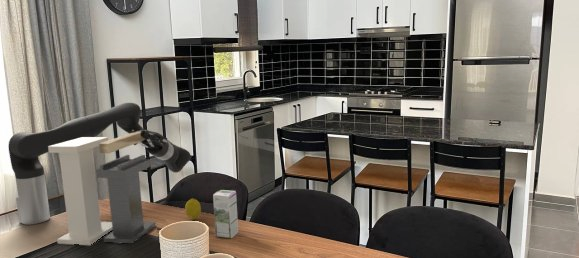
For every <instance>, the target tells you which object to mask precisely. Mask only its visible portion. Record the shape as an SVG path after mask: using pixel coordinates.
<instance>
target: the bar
mask: <svg viewBox="0 0 579 258" xmlns="http://www.w3.org/2000/svg"><path fill="white" fill-rule="evenodd" d="M144 131H146V132H147V133H149V131H150V130H149V129H145V130H144ZM144 140H146V139H145V138H143V137H142V136H141V130H140V131H137V132H134V133H130V134H129V133H127V134H125V135H121V136H119V137H115V138H112V139H110V140H109V139H108V141H106V142H103V143H100V144H99V146H98V148H99V153H100V154H111V153H113V152H116V151H119V150H122V149H124V148H128V147H130V146H132V145H133V144H136V143H138V142H141V141H144ZM138 144H139V143H138ZM133 146H134V145H133Z"/></svg>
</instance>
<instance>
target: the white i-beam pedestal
mask: <svg viewBox="0 0 579 258" xmlns="http://www.w3.org/2000/svg"><path fill="white" fill-rule="evenodd" d="M106 141H109V137H108V136H99V137H98V136H96V137H81V138H77V139H74V140H70V141H66V142H63V143H59V144H55V145H51V146H48V150H49V152H48V153H49V154H50V153H52V154H53V153H54V154H55V153H57V154H59V164H60V172H61V180H62V181H61V182H62V187H63V196H64V197H63V198H64V204H65V212H66V221H67V229H68V232H67V233H65V234H64V235H62V236H61V237H60V236H59V238H57V239H56V241H57V244H58V245H74V244H79V245H80V246H92V245H94V244H95V243H97V242H98V241H99V240H98V239H100V238H101V237H102V236H104V235H105V234H107V233H108V232H110V231H111V230H113V228H112V221H102V220H101V212H100V203H99V202H100V201H99V194H98V184H97V175H96V167H95V165H96V164H95V157H94V148H96V147H97V148H98V147H99V144H100V143H103V142H106ZM110 233H111V232H110ZM107 235H108V234H107ZM104 237H105V236H104ZM101 239H102V238H101ZM101 239H100V240H101ZM97 240H98V241H97ZM96 241H97V242H96ZM94 242H95V243H94ZM93 243H94V244H93ZM91 244H92V245H91ZM79 245H78V246H79Z"/></svg>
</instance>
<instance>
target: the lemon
mask: <svg viewBox="0 0 579 258" xmlns="http://www.w3.org/2000/svg"><path fill="white" fill-rule="evenodd" d="M201 207H202V205H201V203H200V201H198V200H197V199H196V198H191V199H189V200H188V201H187V202H186V204H185V207H184V211H185V215H186V216H187V218H189V219H191V220H193V221H194V220H196V218H198V217H199V216H200V215H201V211H202V208H201Z"/></svg>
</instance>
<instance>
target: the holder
mask: <svg viewBox="0 0 579 258" xmlns="http://www.w3.org/2000/svg"><path fill="white" fill-rule="evenodd" d="M150 167H151V160H150V158H149V159H147V158H146V154H141V155H139V156H137V157H135V158H130V154H125V155H122V156H120V157H118V158H115V159H112V160H109V161H108V162H105V163H102V164H100V165H99V168H98V169H95V174H96V179H106V181H107V189H108V190H107V191H108V198H109V200H108V201H109V209H110V217H111V218H110V219H111V222H112V228H113V231H112V232H110V233H109V234H107V235H106V236H104V237H103V238H102V239H103V243H104V242H122V243H132V242H134V241H135V240H136V239H138V238H139V237H140V236H142V235H143V234H145V233H146V234H147V233H149V232H150V231H151V230H153V229H154V228H155V227H156V222H155V221H144V215H143V205H142V203H143V202H142V195H141V194H142V193H141V182H140V172H141V171H144V170H147V169H148V168H150ZM146 234H145V235H146ZM143 236H144V235H143ZM143 236H142V237H143ZM139 239H140V238H139ZM139 239H138V240H139ZM134 243H135V242H134Z"/></svg>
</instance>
